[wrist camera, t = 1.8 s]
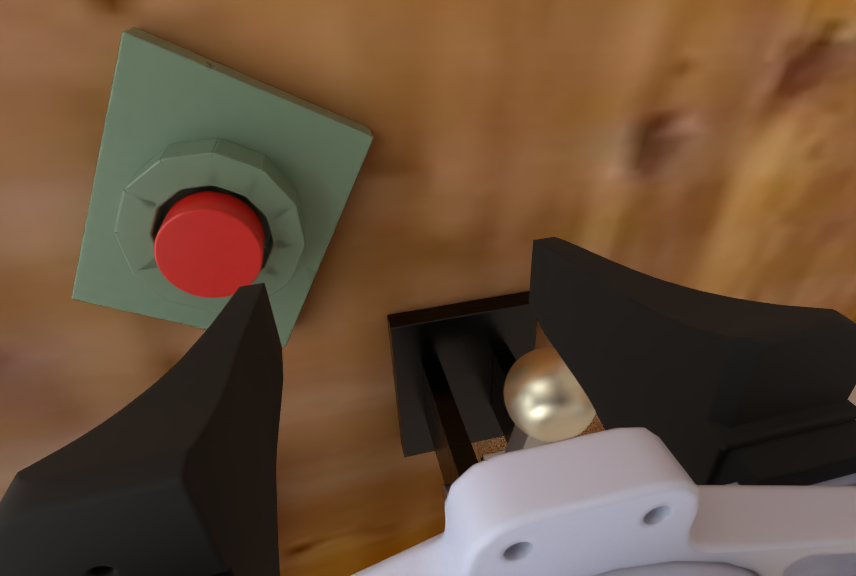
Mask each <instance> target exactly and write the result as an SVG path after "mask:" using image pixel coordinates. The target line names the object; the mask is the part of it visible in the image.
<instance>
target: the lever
mask: <svg viewBox="0 0 856 576" xmlns="http://www.w3.org/2000/svg"><path fill="white" fill-rule="evenodd" d="M504 401H505V406H506V409H507V411H508V413H509V415H510V417H511V419H512V420H513V422H514V423H515V426H514V428H513V431H512V434H511V436H510V439H509V442H508V445H507V447H506V450H503V451H498V452H494V453H489V454H485V455H482V458H481V461H483V460H486V459H488V458H491V457H493V456H496V455H498V454H503V453H507V452H511V451H516V450H520V449H525V448H529V447H534V446H538V445H543V444H547V443H551V442H556V441H560V440H565V439H569V438H573V437H575V436H577V435H579V434H580V433H582V432H583V431H584V430H585V429H586V428H587V427H588V426H589V424H590V423H591V422H592V420H593V418H594V416H595V414H596V411H595V409H594V407H593V406H592V404H591V402H590V400H589V398H588V397H587V395H586V394H585V392H584V390H583V389H582V387H581V386H580V384H579V383H578V381H577V380H576V378H575V377H574V376H573V374H572V373H571V371H570V370H569V368H568V367H567V365H566V364H565V363H564V361H563V360H562V358H561V357H560V355H559V354H558V352H557V351H556V350H555V348H539V349H535V350H533V351H530V352H528V353H526V354H524V355H523V356H521V357H520V358H519V359H518V360H517V361H516V362H515V363H514V364H513V366H512V367H511V368H510V370H509V372H508V374H507V377H506V380H505V384H504ZM481 461H480V462H481Z"/></svg>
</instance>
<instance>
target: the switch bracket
mask: <svg viewBox="0 0 856 576" xmlns="http://www.w3.org/2000/svg"><path fill="white" fill-rule="evenodd" d="M529 294H530V291H528V292H522V293H516V294H510V295H504V296H499V297H493V298H487V299H481V300H475V301H469V302H463V303H457V304H451V305H445V306H439V307H433V308H428V309H422V310H416V311H410V312H404V313H398V314H392V315H388V316H387V319H388V328H389V337H390V346H391V356H392V365H393V374H394V383H395V392H396V401H397V410H398V419H399V428H400V438H401V445H402V449H403V453H404V457H408V456H413V455H417V454H422V453H427V452H431V451H435V452H436V455H437V459H438V462H439V466H440V469H441V472H442V476H443V479H444V482H445V484H444V485H443V496H444V501H445V502H446V499H447V496H448V493H449V491H450V488H451V485H452V484H453V483H454V481H455V480H457V479H458V478H459V477H460V476H461V475H462V474H463V473H464V472H465V471H467V470H468V469H469V468H470V467H471V466H472V465H474V464H476V463H478V461H477V458H476V455H475V453H474V450H473V447H472V445H471V443H473V442H478V441H482V440H487V439H491V438H496V437H501V436H505V438H506V441H507V443H508V442H509V439H510V436H511V434H512V431H513V428H514V426H515V423H514V422H513V420H512V419H511V417H510V415H509V413H508V411H507V409H506V406H505V401H504V384H505V380H506V377H507V374H508V372H509V370H510V368H511V367H512V366H513V364H514V363H515V362H516V361H517V360H518V359H519V358H520V357H521V356H523V355H524V354H526V353H528V352H530V351H533V350H534V348H535V337H536V326H537V318H536V316H535V314H534V312H533V310H532V307H531V305H530V303H529Z"/></svg>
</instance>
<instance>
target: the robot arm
mask: <svg viewBox="0 0 856 576" xmlns="http://www.w3.org/2000/svg"><path fill="white" fill-rule="evenodd" d="M529 303H530V305H531V307H532V310H533V312H534V314H535V316H536V318H537V320H538V322H539V324H540V326H541V328H542V330H543V332H544V333H545V335H546V336H547V338H548V339H549V341H550V342H551V344H552V345H553V347H554V348H555V350H556V351H557V352H558V354H559V355H560V357H561V358H562V360H563V361H564V363H565V364H566V365H567V367H568V368H569V370H570V371H571V373H572V374H573V376H574V377H575V378H576V380H577V381H578V383H579V384H580V386H581V387H582V389H583V390H584V392H585V394H586V395H587V397H588V398H589V400H590V402H591V404H592V406H593V407H594V409H595V411H596V413H597V415H598V417H599V419H600V421H601V423H602V424H603V426H604V428H605V431H600V432H596V433H591V434H587V435H583V436H578V437H574V438H569V439H565V440H560V441H556V442H551V443H547V444H543V445H538V446H534V447H529V448H525V449H520V450H516V451H511V452H507V453H503V454H498V455H496V456H493V457H491V458H488V459H486V460H483V461H481V462H479V463H476V464H474V465H472V466H471V467H470V468H469V469H468V470H467V471H465V472H464V473H463V474H462V475H461V476H460V477H459V478H458V479H457V480H455V481H454V483H453V484H452V485H451V488H450V491H449V493H448V496H447V499H446V502H445V521H446V525H445V531H444V532H443V533H441V534H439V535H436V536H434V537H432V538H430V539H428V540H426V541H424V542H422V543H419V544H417V545H415V546H413V547H411V548H409V549H407V550H404V551H402V552H400V553H398V554H396V555H394V556H392V557H389V558H387V559H385V560H383V561H381V562H379V563H377V564H374V565H372V566H370V567H368V568H366V569H364V570H362V571H359V572H357V573H355V574H353V575H351V576H856V420H855V419H856V406H855V405H854V404H852V403H851V402H850V401H849V400H847V399H848V397H849V395H850V394H851V392H852V390H853V388H854V387H855V385H856V323H854V322H853V321H851V320H850V319H848V318H847V317H845V316H843V315H842V314H840V313H839V312H837V311H835V310H833V309H823V308H811V307H799V306H786V305H777V304H770V303H763V302H755V301H748V300H743V299H737V298H731V297H726V296H722V295H717V294H712V293H708V292H703V291H699V290H695V289H691V288H687V287H684V286H680V285H677V284H674V283H670V282H667V281H663V280H660V279H657V278H654V277H651V276H649V275H646V274H643V273H641V272H638V271H635V270H633V269H630V268H628V267H625V266H623V265H620V264H618V263H615V262H613V261H611V260H608V259H606V258H604V257H602V256H599V255H597V254H595V253H592V252H590V251H588V250H586V249H583V248H581V247H579V246H577V245H574V244H572V243H570V242H567V241H565V240H562V239H559V238H556V237H551V238H545V239H538V240H533V251H532V265H531V279H530V294H529ZM282 387H283V362H282V345H281V342H280V338H279V334H278V331H277V327H276V323H275V319H274V316H273V312H272V308H271V305H270V301H269V297H268V294H267V290H266V286H265V283H259V284H252V285H246V286H240V287H239V288H238V289H237V291H236V292H235V293H234V295H233V296H232V297H231V298H230V300H229V301H228V303H227V304H226V305H225V307H224V308H223V309H222V311H221V312H220V313H219V315H218V316H217V317H216V319H215V320H214V321H213V322H212V324H211V325H210V326H209V328H208V329H207V330H206V331H205V333H204V334H203V335H202V336H201V337H200V338H199V340H198V341H197V342H196V343H195V344H194V345H193V346H192V347H191V349H190V350H189V351H188V352H187V353H186V354H185V355H184V356H183V357H182V358H181V359H180V360H179V361H178V362H177V363H176V364H175V365H174V366H173V367H172V368H171V369H170V370H169V371H168V372H167V373H166V374H165V375H164V376H163V377H161V378H160V379H159V380H158V381H157V382H156V383H155V384H154V385H152V386H151V387H150V388H149V389H147V390H146V391H145V392H144V393H142V394H141V395H140V396H138V397H137V398H136V399H135V400H133V401H132V402H131V403H129V404H128V405H127V406H126V407H124V408H123V409H122V410H120V411H119V412H118V413H116V414H115V415H113V416H112V417H110V418H109V419H107V420H106V421H105V422H103V423H102V424H100V425H99V426H97V427H95V428H94V429H92V430H91V431H89V432H88V433H86V434H85V435H83V436H81V437H80V438H78V439H76V440H75V441H73V442H72V443H70V444H68V445H66V446H65V447H63V448H61V449H59V450H57V451H56V452H54V453H52V454H50V455H48V456H47V457H45V458H43V459H41V460H39V461H38V462H36V463H34V464H32V465H30V466H29V467H27V468H25V469H23V470H21V471H19V472H18V473H17V474H16V476H15V478H14V479H13V481H12V483H11V484H10V486H9V488H8V490H7V491H6V493H5V495H4V497H3V499H2V501H1V502H0V576H280V568H279V548H278V523H277V491H276V456H277V442H278V432H279V421H280V410H281V399H282Z"/></svg>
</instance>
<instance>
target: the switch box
mask: <svg viewBox="0 0 856 576" xmlns="http://www.w3.org/2000/svg"><path fill="white" fill-rule="evenodd" d="M372 140H373V135H372V133H371V131H370V129H369V128H368V127H366V126H363V125H361V124H359V123H356V122H354V121H352V120H349V119H347V118H345V117H342V116H340V115H338V114H335V113H333V112H331V111H328V110H326V109H324V108H321V107H319V106H317V105H314V104H312V103H310V102H308V101H305V100H303V99H301V98H298V97H296V96H294V95H291V94H289V93H287V92H284V91H282V90H280V89H277V88H275V87H273V86H270V85H268V84H266V83H263V82H261V81H259V80H256V79H254V78H252V77H249V76H247V75H245V74H242V73H240V72H238V71H235V70H233V69H231V68H228V67H226V66H224V65H221V64H219V63H217V62H214V61H212V60H210V59H207V58H205V57H203V56H200V55H198V54H196V53H193V52H191V51H189V50H186V49H184V48H182V47H179V46H177V45H175V44H172V43H170V42H168V41H165V40H163V39H161V38H158V37H156V36H154V35H151V34H149V33H147V32H144V31H142V30H140V29H137V28H135V27H132V28H130V29H127V30H125V31H123V32H122V36H121V41H120V46H119V52H118V57H117V62H116V67H115V73H114V78H113V83H112V88H111V93H110V99H109V104H108V109H107V114H106V119H105V125H104V130H103V135H102V140H101V145H100V151H99V156H98V161H97V166H96V171H95V177H94V182H93V187H92V192H91V197H90V203H89V208H88V213H87V218H86V224H85V229H84V234H83V239H82V244H81V250H80V255H79V260H78V265H77V270H76V276H75V281H74V286H73V291H72V296H71V297H72V299H74V300H78V301H83V302H87V303H92V304H96V305H101V306H105V307H110V308H114V309H119V310H123V311H128V312H132V313H137V314H141V315H146V316H150V317H154V318H159V319H163V320H168V321H172V322H177V323H181V324H186V325H190V326H195V327H199V328H204V329H208V328H209V326H210V325H211V324H212V322H213V321H214V320H215V319H216V317H217V316H218V315H219V313H220V312H221V311H222V309H223V308H224V307H225V305H226V304H227V303H228V301H229V300H230V298H231V297H232V296H233V295H231V296H227V297H222V298H204V297H199V296H195V295H192V294H189V293H186V292H184V291H182V290H180V289H179V288H177V287H176V286H174V285H173V284H172V283H171V282H169V281H168V280H167V279H166V277H165V276H164V275H163V274H162V272H161V271H160V269H159V267H158V265H157V263H156V260H155V256H154V242H155V238H156V235H157V233H158V231H159V229H160V227H161V225H162V223H163V221H164V219H165V217H166V215H167V213H168V211H169V210H170V208H171V207H172V206H173V205H174V204H175V203H176V202H177V201H179V200H180V199H181V198H183V197H185V196H187V195H190V194H193V193H197V192H203V191H215V192H222V193H225V194H229V195H231V196H234V197H236V198H238V199H240V200H242V201H243V202H244V203H246V204H247V205H248V206H249V207H251V208H252V209H253V211H254V212H255V213H256V214H257V216H258V217H259V219H260V221H261V223H262V226H263V229H264V234H265V242H264V253H263V263H262V267H261V270H260V273H259V275H258V276H257V278H256V279H255V280H254V282H253V283H252V284H259V283H265V286H266V290H267V294H268V297H269V301H270V305H271V308H272V312H273V316H274V319H275V323H276V327H277V331H278V334H279V338H280V342H281V345H282V346H286V344H287V342H288V340H289V337H290V335H291V333H292V330H293V328H294V326H295V323H296V321H297V318H298V316H299V314H300V311H301V309H302V307H303V304H304V302H305V299H306V297H307V295H308V292H309V290H310V288H311V285H312V283H313V280H314V278H315V276H316V273H317V271H318V269H319V266H320V264H321V261H322V259H323V257H324V254H325V252H326V250H327V247H328V245H329V242H330V240H331V238H332V235H333V233H334V231H335V228H336V226H337V224H338V221H339V219H340V216H341V214H342V212H343V209H344V207H345V205H346V202H347V200H348V197H349V195H350V193H351V190H352V188H353V186H354V183H355V181H356V178H357V176H358V174H359V171H360V169H361V167H362V164H363V162H364V159H365V157H366V155H367V152H368V150H369V148H370V145H371V143H372ZM252 284H251V285H252Z"/></svg>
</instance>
